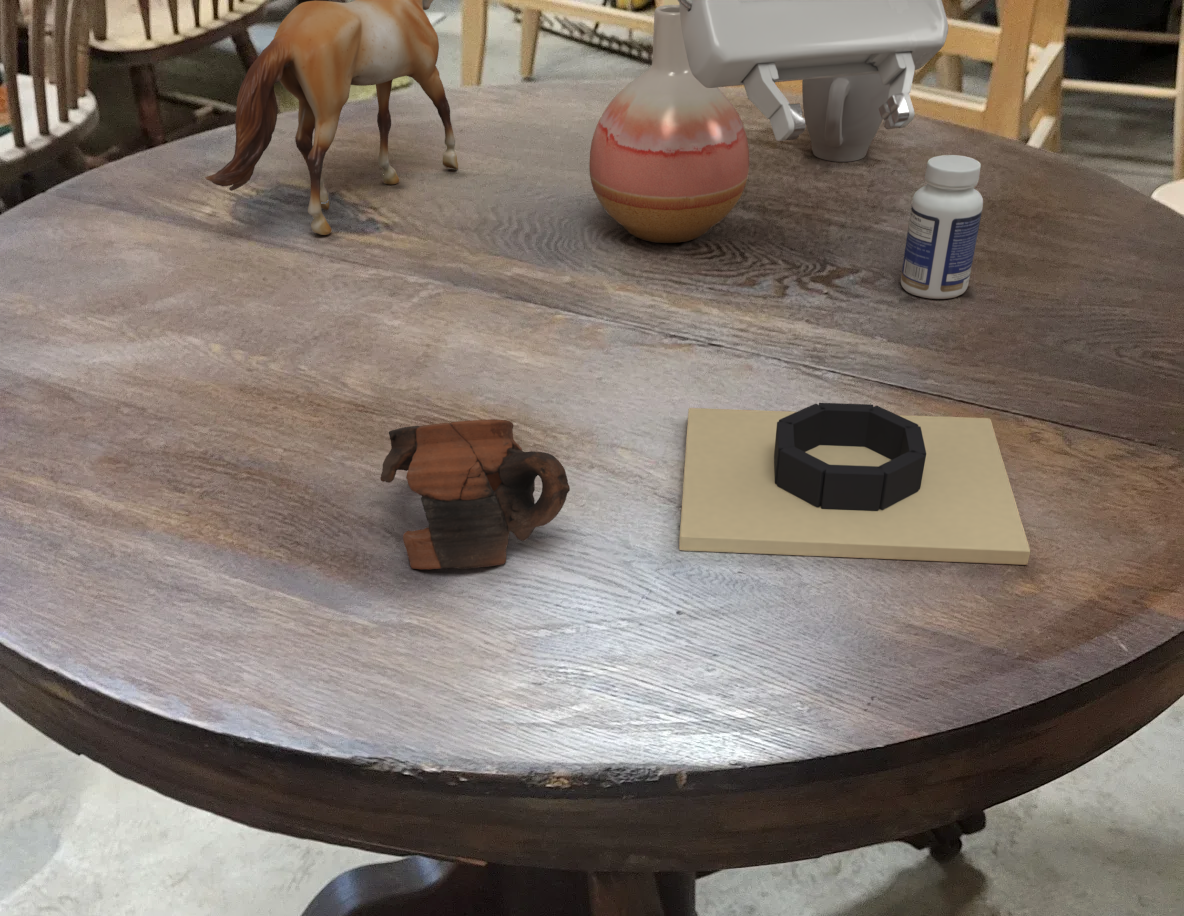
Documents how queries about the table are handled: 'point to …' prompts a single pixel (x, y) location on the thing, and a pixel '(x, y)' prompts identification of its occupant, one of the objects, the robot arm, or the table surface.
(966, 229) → the pill bottle
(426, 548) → the pottery mug
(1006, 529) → the socket pad
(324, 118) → the horse figurine
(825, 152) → the mug
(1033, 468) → the table surface
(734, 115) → the vase
